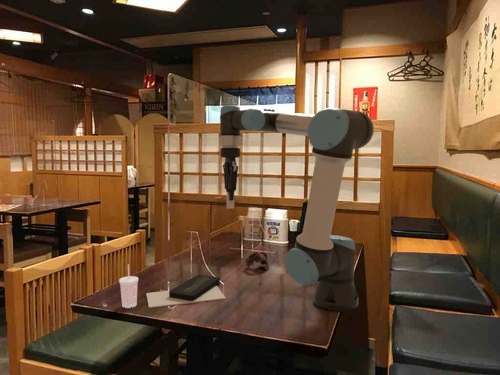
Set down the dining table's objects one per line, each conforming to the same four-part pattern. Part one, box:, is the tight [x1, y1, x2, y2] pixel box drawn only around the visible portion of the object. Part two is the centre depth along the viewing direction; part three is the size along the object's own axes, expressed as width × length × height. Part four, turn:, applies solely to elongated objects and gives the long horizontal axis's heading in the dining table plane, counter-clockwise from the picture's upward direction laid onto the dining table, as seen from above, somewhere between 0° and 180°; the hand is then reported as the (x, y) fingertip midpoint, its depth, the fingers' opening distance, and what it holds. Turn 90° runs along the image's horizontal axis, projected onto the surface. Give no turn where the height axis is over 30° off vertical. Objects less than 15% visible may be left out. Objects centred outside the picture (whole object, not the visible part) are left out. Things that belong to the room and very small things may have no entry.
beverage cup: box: [118, 264, 139, 309], centre depth 132 cm, size 6×6×14 cm
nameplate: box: [168, 274, 221, 301], centre depth 146 cm, size 21×2×10 cm
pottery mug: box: [244, 251, 270, 271], centre depth 174 cm, size 12×10×8 cm
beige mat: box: [145, 285, 226, 309], centre depth 140 cm, size 13×26×1 cm, turn 108°
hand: (230, 208), depth 153 cm, fingers closed
